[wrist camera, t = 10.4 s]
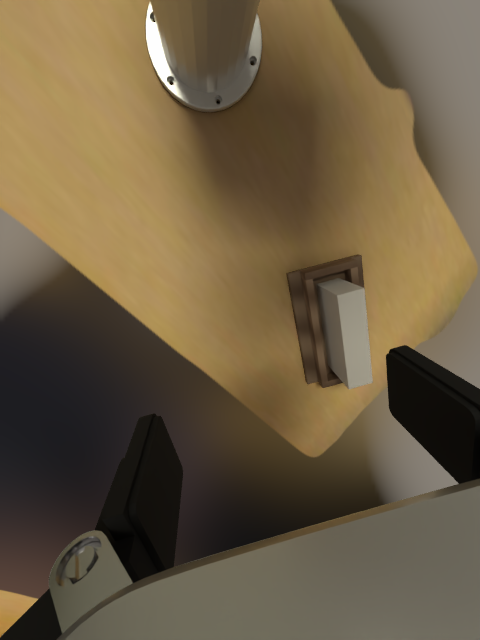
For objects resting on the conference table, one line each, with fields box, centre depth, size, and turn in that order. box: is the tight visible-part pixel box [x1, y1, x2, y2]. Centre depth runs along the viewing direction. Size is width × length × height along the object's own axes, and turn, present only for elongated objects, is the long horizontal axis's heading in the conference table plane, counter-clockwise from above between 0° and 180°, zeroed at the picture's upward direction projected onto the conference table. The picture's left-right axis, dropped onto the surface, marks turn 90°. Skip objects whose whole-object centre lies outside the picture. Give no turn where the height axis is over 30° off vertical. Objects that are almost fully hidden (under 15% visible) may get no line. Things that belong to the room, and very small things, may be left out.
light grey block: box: [316, 278, 373, 389], centre depth 39 cm, size 14×4×7 cm, turn 14°
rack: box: [287, 255, 364, 388], centre depth 42 cm, size 19×11×3 cm, turn 14°
